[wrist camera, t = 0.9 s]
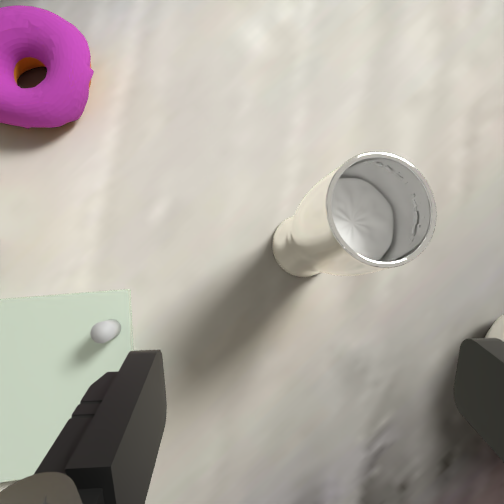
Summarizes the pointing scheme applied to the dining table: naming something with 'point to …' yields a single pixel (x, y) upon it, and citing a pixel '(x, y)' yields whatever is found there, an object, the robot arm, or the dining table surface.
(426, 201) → the shiny metal tumbler
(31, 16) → the donut
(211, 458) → the dining table surface
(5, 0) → the dining table surface
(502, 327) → the lidded jar
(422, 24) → the dining table surface
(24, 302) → the peg stand
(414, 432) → the dining table surface
